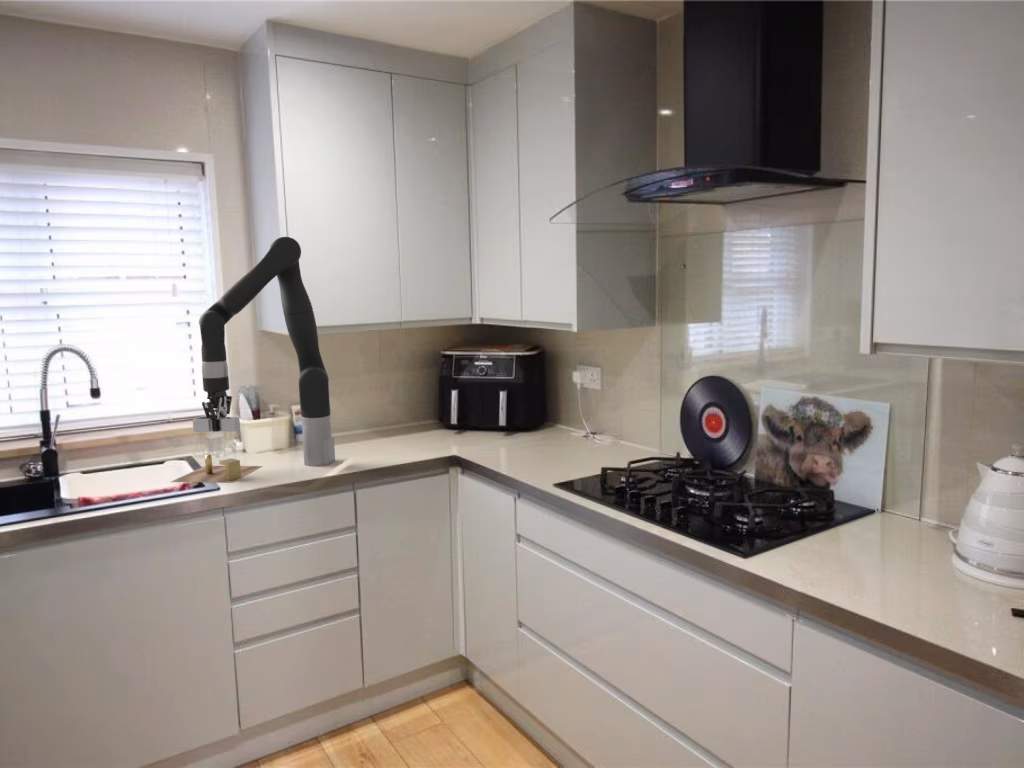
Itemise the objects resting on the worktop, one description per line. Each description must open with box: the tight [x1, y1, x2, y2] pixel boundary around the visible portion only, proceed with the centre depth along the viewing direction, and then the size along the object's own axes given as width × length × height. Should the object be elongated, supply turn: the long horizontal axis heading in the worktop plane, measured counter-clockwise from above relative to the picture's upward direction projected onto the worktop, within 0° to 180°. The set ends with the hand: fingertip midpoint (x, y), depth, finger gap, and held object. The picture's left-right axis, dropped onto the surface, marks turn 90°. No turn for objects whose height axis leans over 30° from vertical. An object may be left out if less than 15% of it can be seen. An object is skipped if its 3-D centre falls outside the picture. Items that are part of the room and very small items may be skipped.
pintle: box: [204, 453, 213, 474], centre depth 228 cm, size 2×2×6 cm
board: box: [170, 465, 264, 484], centre depth 228 cm, size 20×20×1 cm
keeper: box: [219, 458, 242, 481], centre depth 222 cm, size 5×4×6 cm
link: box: [192, 415, 241, 433], centre depth 226 cm, size 13×5×4 cm, turn 82°
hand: (219, 429), depth 227 cm, fingers closed on link, 3 cm apart
